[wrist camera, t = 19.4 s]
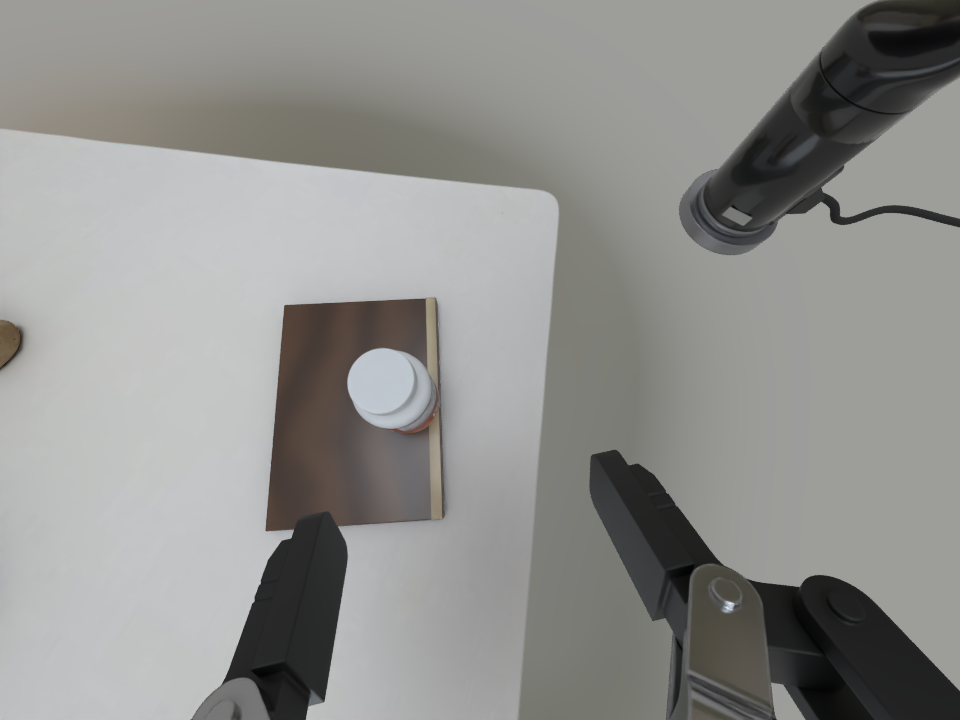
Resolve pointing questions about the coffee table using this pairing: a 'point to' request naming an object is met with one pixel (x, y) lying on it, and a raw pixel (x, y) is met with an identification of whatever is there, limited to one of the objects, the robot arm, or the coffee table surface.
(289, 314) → the board
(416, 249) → the coffee table surface
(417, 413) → the pill bottle
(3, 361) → the figurine
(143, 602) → the coffee table surface
